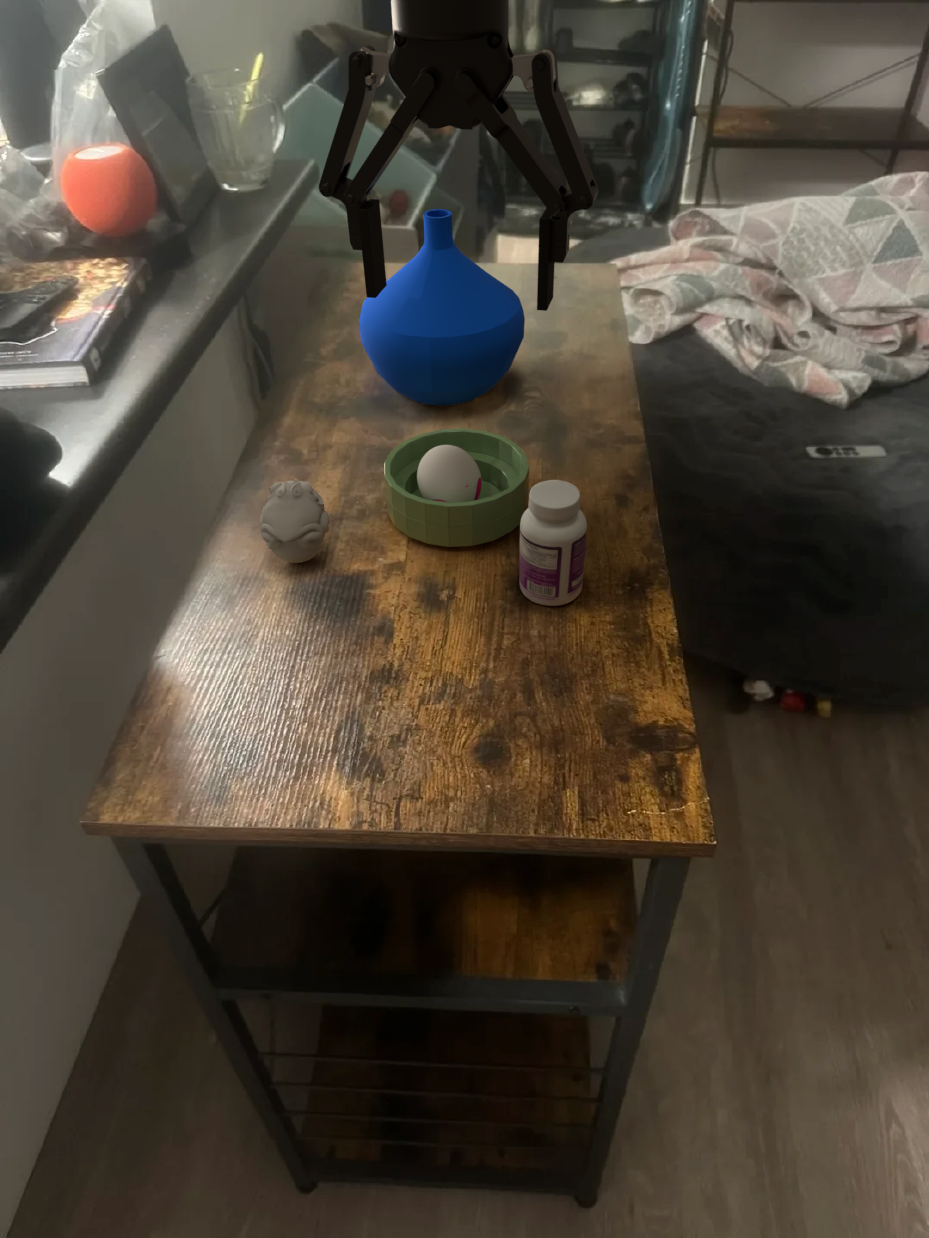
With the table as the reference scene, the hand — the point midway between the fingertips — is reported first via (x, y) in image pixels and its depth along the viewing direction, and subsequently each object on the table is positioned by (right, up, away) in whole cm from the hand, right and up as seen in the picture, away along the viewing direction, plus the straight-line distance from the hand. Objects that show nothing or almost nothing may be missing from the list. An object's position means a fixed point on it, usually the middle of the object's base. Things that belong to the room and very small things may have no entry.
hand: (459, 298), depth 69 cm
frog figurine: (-14, -20, +11) cm, 26 cm away
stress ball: (0, -14, +15) cm, 21 cm away
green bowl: (0, -15, +15) cm, 21 cm away
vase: (-2, +2, +34) cm, 34 cm away
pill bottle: (+8, -23, +6) cm, 25 cm away
